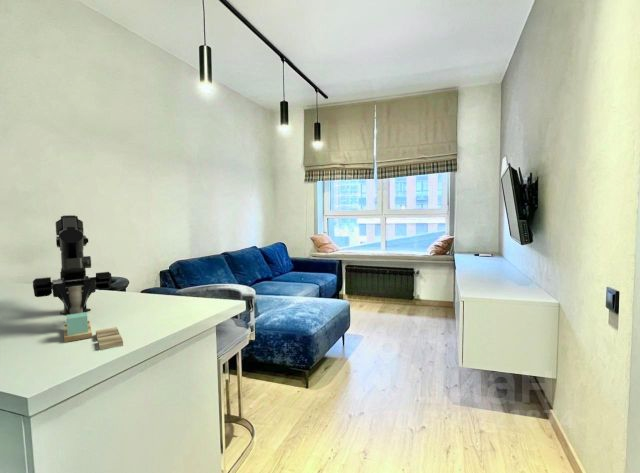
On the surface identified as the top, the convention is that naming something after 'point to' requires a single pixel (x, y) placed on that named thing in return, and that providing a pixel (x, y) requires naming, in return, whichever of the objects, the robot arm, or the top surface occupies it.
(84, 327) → the cube
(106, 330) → the beige rectangular block
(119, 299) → the top surface
